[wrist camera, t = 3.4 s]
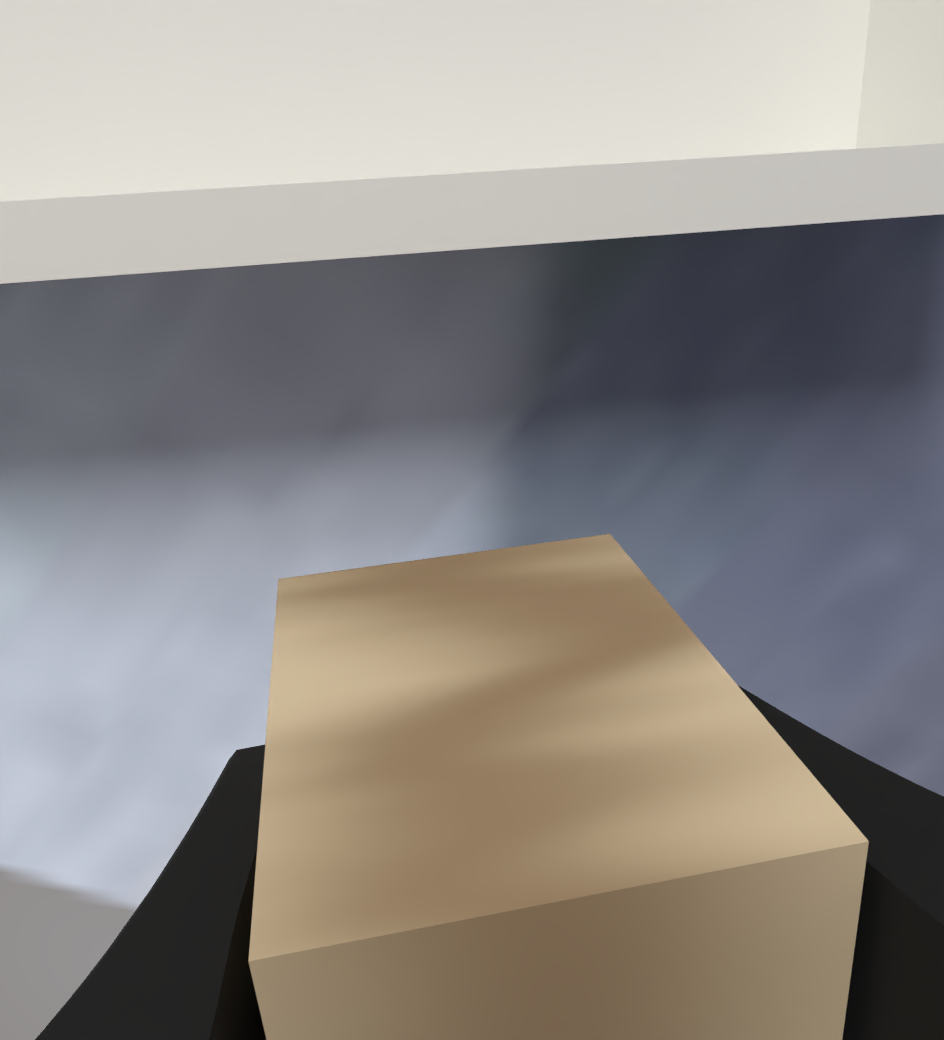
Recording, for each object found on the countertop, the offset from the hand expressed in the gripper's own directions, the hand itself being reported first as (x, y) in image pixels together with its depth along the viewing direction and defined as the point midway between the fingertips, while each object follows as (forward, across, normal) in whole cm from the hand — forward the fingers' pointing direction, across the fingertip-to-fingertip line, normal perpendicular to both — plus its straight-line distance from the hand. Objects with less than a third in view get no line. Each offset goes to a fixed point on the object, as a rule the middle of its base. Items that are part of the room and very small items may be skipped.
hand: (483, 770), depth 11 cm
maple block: (+2, 0, 0) cm, 2 cm away
